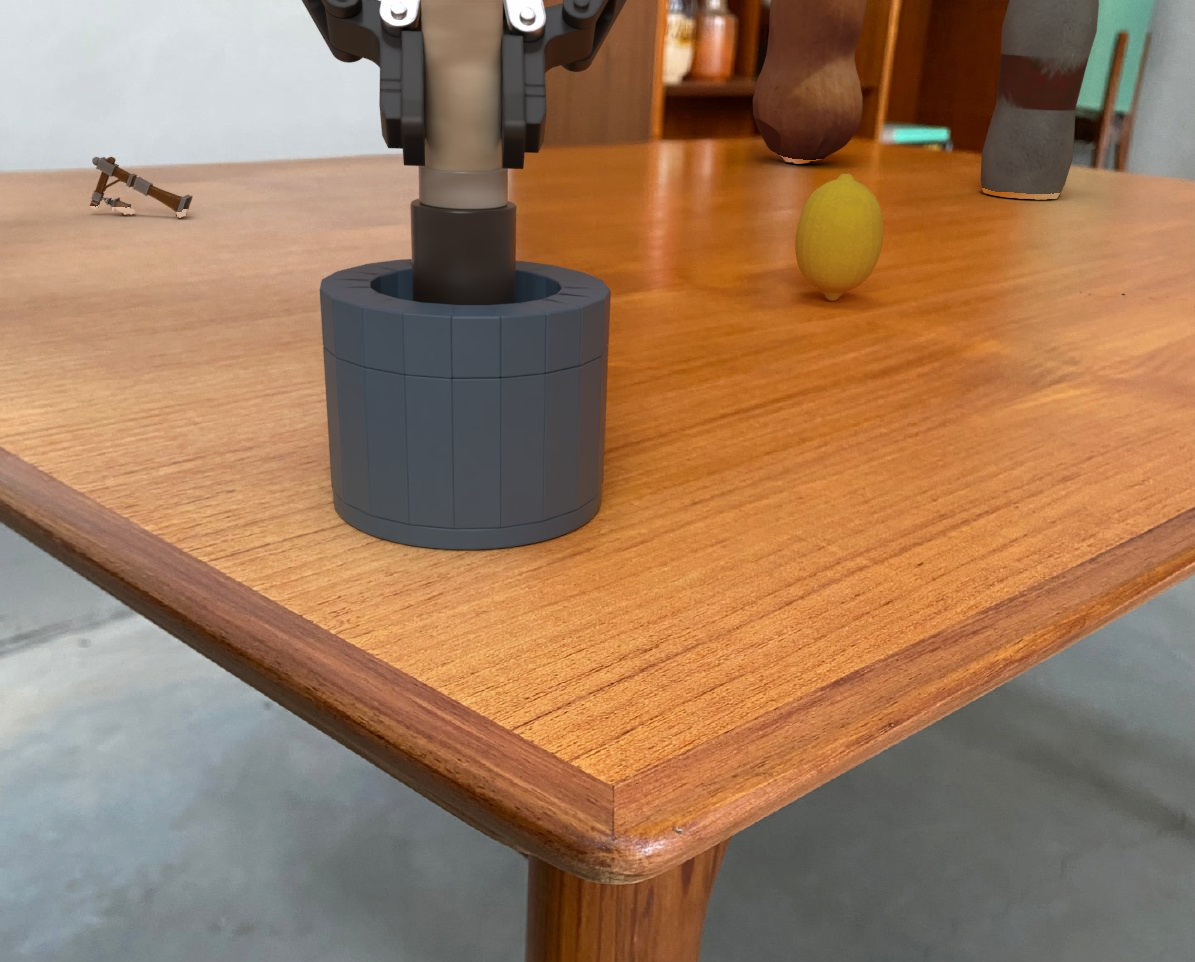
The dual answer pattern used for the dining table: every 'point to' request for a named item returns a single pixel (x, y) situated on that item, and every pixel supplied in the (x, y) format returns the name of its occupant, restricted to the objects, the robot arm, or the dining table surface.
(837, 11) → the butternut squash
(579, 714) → the dining table surface
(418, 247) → the tan cylinder
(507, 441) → the grey paneled mortar
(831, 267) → the lemon
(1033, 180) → the grey vase with band
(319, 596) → the dining table surface
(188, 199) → the wooden post with brackets
